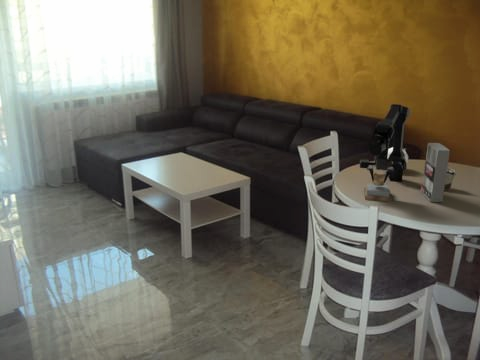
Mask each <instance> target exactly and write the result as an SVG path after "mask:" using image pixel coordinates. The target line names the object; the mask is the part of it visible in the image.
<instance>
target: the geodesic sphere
mask: <svg viewBox="0 0 480 360" xmlns="http://www.w3.org/2000/svg"><path fill="white" fill-rule="evenodd" d="M406 150H407V148H402V151H403V152H404V154H405V159H406V163H407V164H408V161H409V155H408V153H407V152H406ZM392 151H393V146H392V147H390V148H389V149H388V157H389V155H390V154H391V153H392ZM402 167H403V166H402Z"/></svg>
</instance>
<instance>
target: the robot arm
mask: <svg viewBox="0 0 480 360" xmlns="http://www.w3.org/2000/svg"><path fill="white" fill-rule="evenodd" d="M410 114H411V109H410V108H409V107H408V106H404V105H402V104H398V103H392V104H390V108H389V110H388V111H387V114H386V115H385V117H384V119H382V120H380V121H378V123H377V124H376V125H375V127H374V130H373V133H372V135H371V139H372V140H374V141H373V142H372V143H371V144H370V145H369V147H368V150H369V152H370V154H371V155H373V156H374V162H373V161H370V160H369V159H360V160H359V169H366V171H368V172H369V173H370V177H371V178H370V179H371V181H372V183H373V180H374V167H375V169H376V170H377V171H385V173H384V174H385V179H384V184H385V183H386V181H387V180H389V181H393V182H403V181H404V180H403V174H404V171H406V170H407V168H408V167H407V165H408V162H407V163H406V159H405V154H404V152H403V151H402V149H403V144H404V133H405V132H404V130H405V123H406V121H407V120H408V119H409V117H410ZM392 138H393V140H392ZM391 140H392V141H393V142H392V147H393V151H392V153H391V154H390V155H389V157H388V149H390V148H389V147H390V141H391ZM402 166H403V167H402Z"/></svg>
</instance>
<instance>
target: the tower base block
mask: <svg viewBox="0 0 480 360" xmlns="http://www.w3.org/2000/svg"><path fill="white" fill-rule="evenodd" d="M363 196H364V197H363V198H364V200H368V201H382V202H392V194H391V190H390V189H389V197H383V196H373V195H367V187H363Z"/></svg>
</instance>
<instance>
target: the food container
mask: <svg viewBox="0 0 480 360" xmlns="http://www.w3.org/2000/svg"><path fill="white" fill-rule="evenodd" d="M454 176H455V177H456V171H455V170H454V169H453V168H450V167H447V174H446V180H445V187H444V191H451V187H452V184H453V180H454V178H455V177H454Z"/></svg>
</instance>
